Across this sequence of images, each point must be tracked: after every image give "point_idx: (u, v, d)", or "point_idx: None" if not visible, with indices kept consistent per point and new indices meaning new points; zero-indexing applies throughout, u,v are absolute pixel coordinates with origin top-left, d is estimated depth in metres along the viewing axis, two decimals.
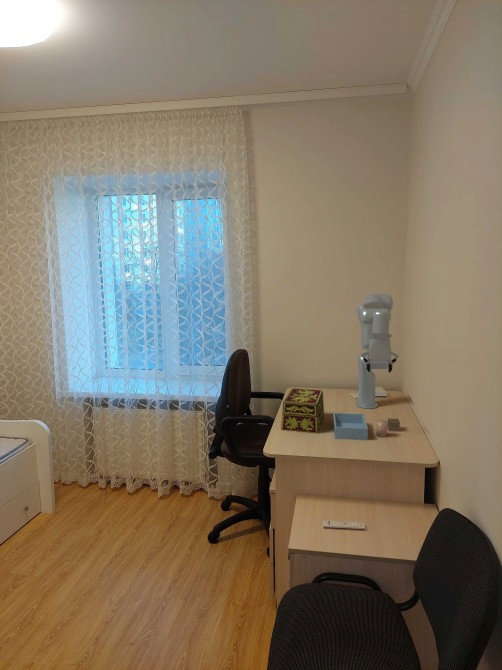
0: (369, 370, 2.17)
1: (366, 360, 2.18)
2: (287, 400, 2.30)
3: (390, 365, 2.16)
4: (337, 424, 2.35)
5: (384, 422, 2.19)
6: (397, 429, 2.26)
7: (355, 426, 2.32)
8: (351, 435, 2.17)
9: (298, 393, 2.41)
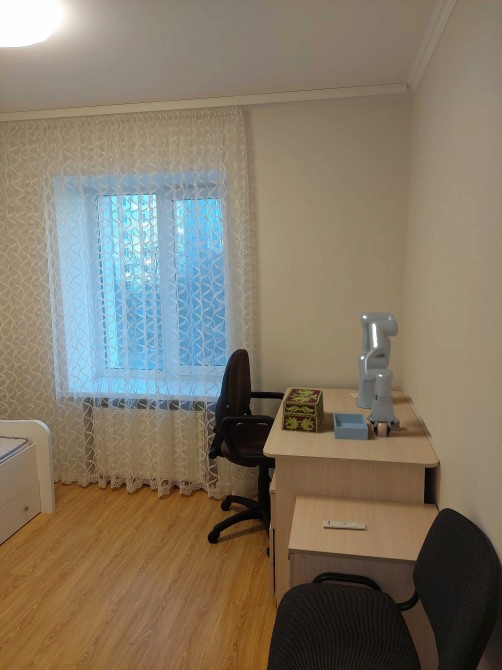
0: (376, 433, 2.20)
1: (372, 423, 2.20)
2: (287, 400, 2.29)
3: (388, 428, 2.19)
4: (337, 424, 2.35)
5: (384, 422, 2.19)
6: (397, 429, 2.26)
7: (355, 426, 2.32)
8: (351, 435, 2.17)
9: (298, 393, 2.41)
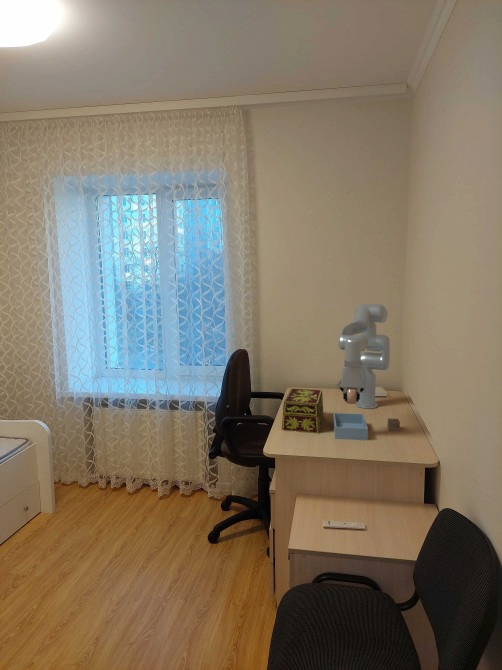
0: (345, 399, 2.19)
1: (342, 390, 2.19)
2: (287, 400, 2.29)
3: (358, 394, 2.18)
4: (337, 424, 2.35)
5: (354, 388, 2.18)
6: (397, 429, 2.26)
7: (355, 426, 2.32)
8: (351, 435, 2.17)
9: (298, 393, 2.41)
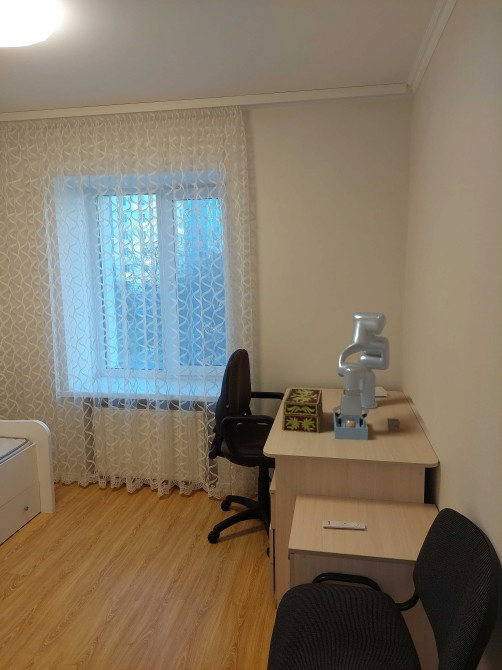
0: (340, 424, 2.21)
1: (337, 415, 2.21)
2: (288, 400, 2.29)
3: (361, 420, 2.19)
4: (337, 424, 2.35)
5: (352, 420, 2.21)
6: (397, 429, 2.26)
7: None
8: (351, 435, 2.17)
9: (298, 393, 2.41)
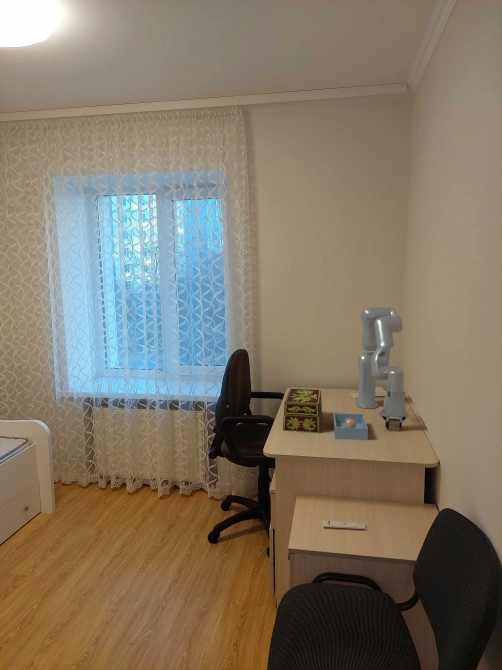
0: (388, 427, 2.28)
1: (384, 419, 2.28)
2: (288, 400, 2.29)
3: (400, 423, 2.27)
4: (337, 424, 2.35)
5: (352, 420, 2.21)
6: (397, 429, 2.26)
7: None
8: (351, 435, 2.17)
9: (297, 393, 2.41)
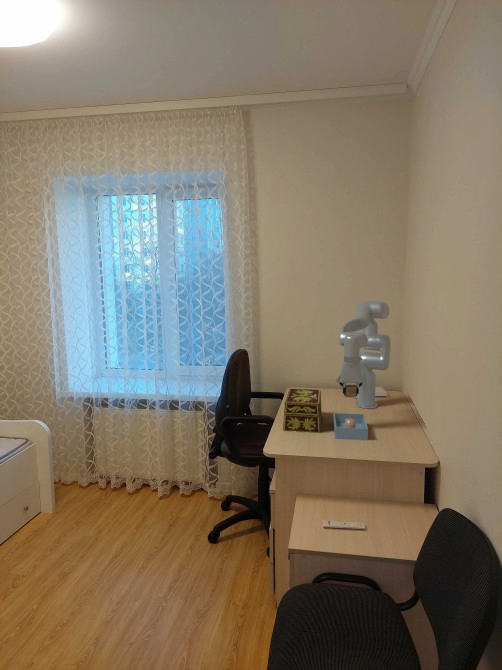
0: (345, 394, 2.27)
1: (341, 385, 2.28)
2: (288, 400, 2.29)
3: (356, 389, 2.26)
4: (337, 424, 2.35)
5: (352, 420, 2.21)
6: (354, 395, 2.26)
7: None
8: (351, 435, 2.17)
9: (297, 393, 2.41)
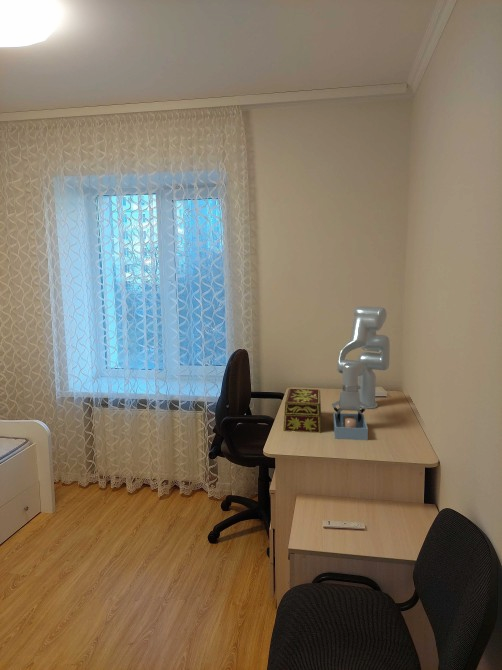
0: (339, 419, 2.30)
1: (336, 410, 2.30)
2: (289, 401, 2.29)
3: (359, 415, 2.28)
4: (337, 424, 2.35)
5: (352, 420, 2.21)
6: None
7: None
8: (351, 435, 2.17)
9: (297, 393, 2.41)
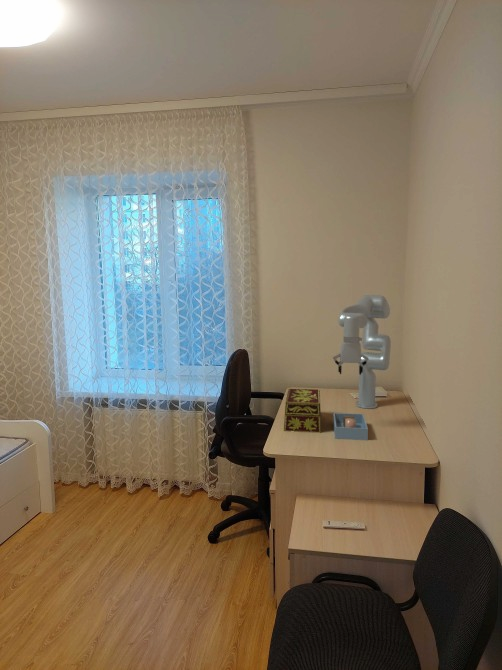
0: (340, 372, 2.26)
1: (338, 362, 2.26)
2: (289, 401, 2.29)
3: (360, 367, 2.24)
4: (337, 424, 2.35)
5: (352, 420, 2.21)
6: None
7: None
8: (351, 435, 2.17)
9: (297, 393, 2.41)
